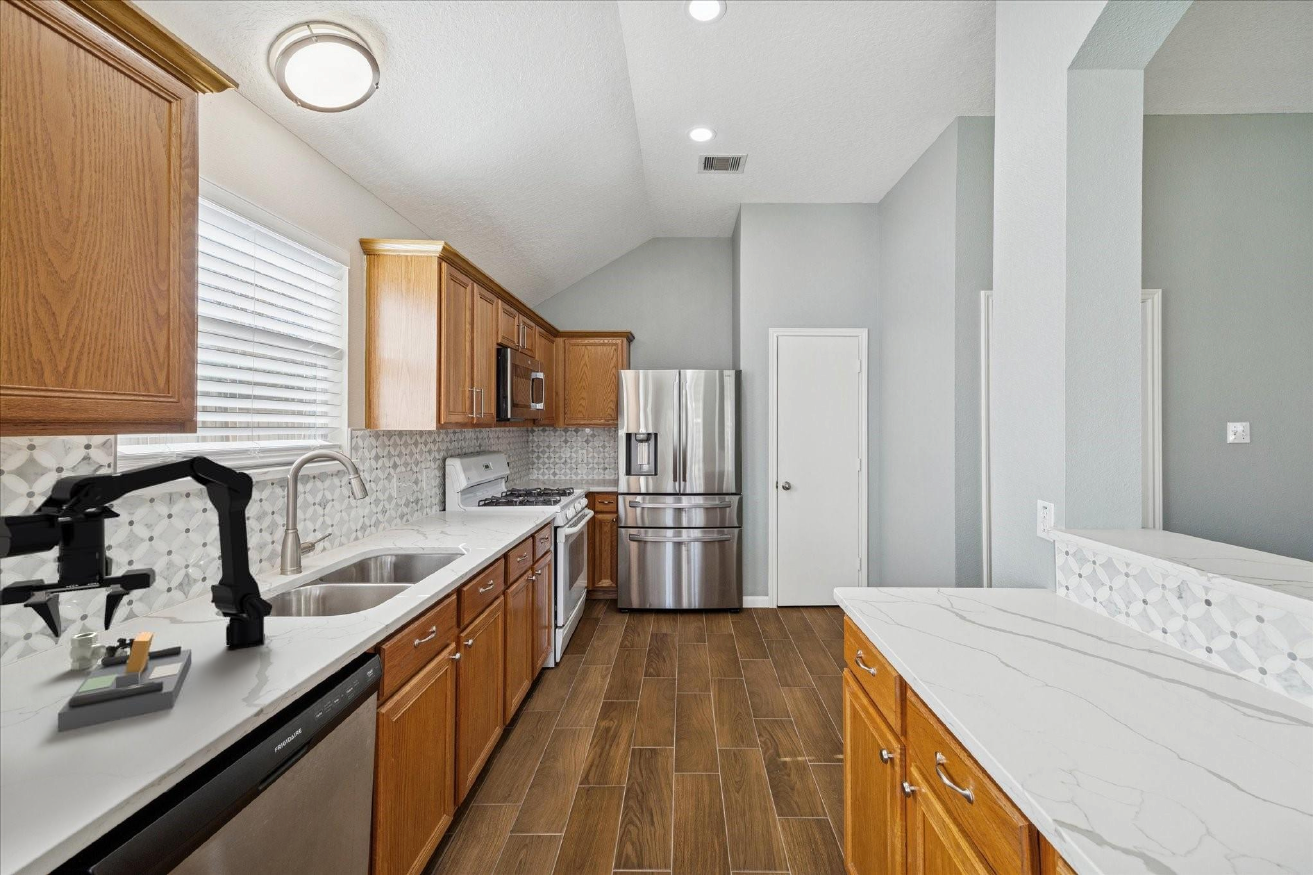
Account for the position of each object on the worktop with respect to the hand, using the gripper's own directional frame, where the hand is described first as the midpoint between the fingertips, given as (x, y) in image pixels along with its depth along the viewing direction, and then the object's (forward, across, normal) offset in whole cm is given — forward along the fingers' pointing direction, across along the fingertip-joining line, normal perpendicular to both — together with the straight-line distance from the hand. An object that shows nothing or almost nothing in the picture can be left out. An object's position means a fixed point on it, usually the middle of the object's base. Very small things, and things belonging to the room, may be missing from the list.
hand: (83, 633), depth 98 cm
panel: (+12, -6, 0) cm, 14 cm away
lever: (+10, -6, 0) cm, 12 cm away
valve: (+13, +2, -18) cm, 22 cm away
